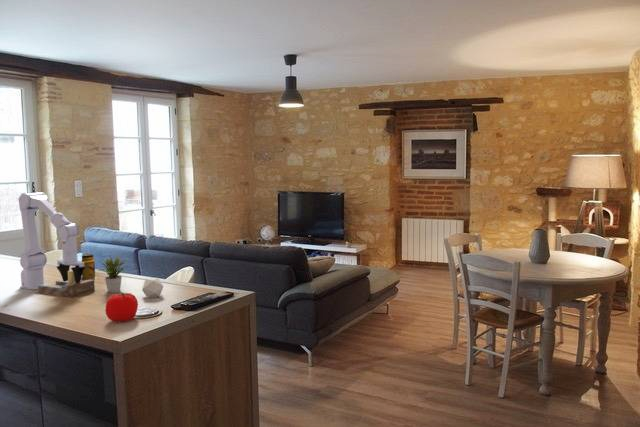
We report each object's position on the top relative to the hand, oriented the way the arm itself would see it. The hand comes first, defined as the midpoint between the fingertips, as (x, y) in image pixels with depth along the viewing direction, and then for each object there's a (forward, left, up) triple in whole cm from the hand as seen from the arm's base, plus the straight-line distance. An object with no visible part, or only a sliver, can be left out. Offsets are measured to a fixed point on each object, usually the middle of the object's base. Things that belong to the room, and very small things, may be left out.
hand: (71, 281), depth 233 cm
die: (+38, +9, -5) cm, 39 cm away
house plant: (+16, +9, -5) cm, 19 cm away
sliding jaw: (0, 0, -3) cm, 3 cm away
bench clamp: (-4, 0, -5) cm, 6 cm away
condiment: (-16, +22, -5) cm, 28 cm away
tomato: (+51, -21, -5) cm, 55 cm away
